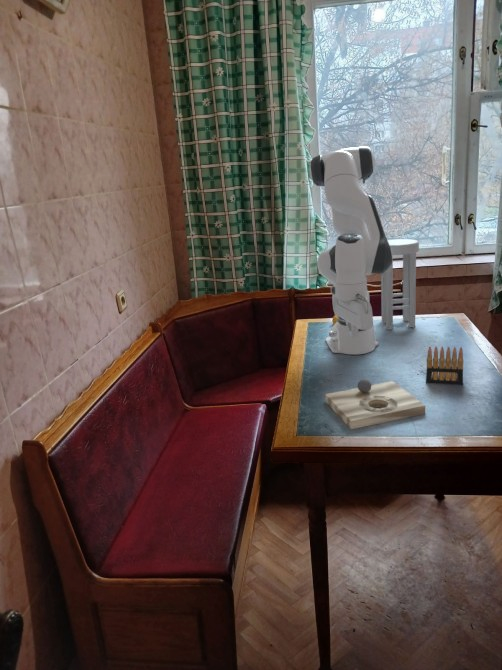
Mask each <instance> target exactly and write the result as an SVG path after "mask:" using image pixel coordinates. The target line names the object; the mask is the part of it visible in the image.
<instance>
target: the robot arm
mask: <svg viewBox="0 0 502 670" xmlns="http://www.w3.org/2000/svg"><path fill="white" fill-rule="evenodd" d="M375 167H376V158H375V155H374V152H373V151H372V148H370V147H369V146H366V145H361V146H360V145H359V146H358V147H347V148H340V149H339V150H334V151H330V152H327V153H325V154H319V155H318V154H317V155H316V156H314V157H312V159H311V161H310V165H309V176H310V179H311V180H312V182H313V184H314V185H315V186H317V187H324V188H323V189H324V194H325V195H324V196H325V199H326V202H327V204H328V205H329V206H330V208H331V215H332V223H333V230H334V231H335V233H336V234H337V235H339V236H338V237H337V238H336V241H335V245H333V246H332V247H331V248H328V249H325V250H322V251H321V252H320V253H319V255H318V257H317V260H316V266H317V270H318V272H319V274H320V275H321V276H322V277H323V278H325V279H327V280H328V281H329V282H330V284H332V286H330V293H331V294H332V297H331V300H332V309H333V312H334V316H335V315H337V316H338V320H337V321H338V322H337V323H336V324H335V325H332V326H331V329H330V330H329V331H328V337H326V338H325V342H326V344H327V346H328V347H329V349H330V351H331V353H335V354H343V355H344V354H345V355H364V354H368V353H371V352H373V351H374V350H375V348H376V347H378V346H379V341H377V340H376V333H375V325H374V318H373V317H374V316H373V308H372V305H371V303H370V292H369V290H368V279H367V276H369V275H374V274H380V275H381V274H382V273H384V272H385V271H386V270H387V269H388V268H389V267H390V266H391V265H392V259H393V258H394V255H393V256H392V250H391V248H390V245H389V243H388V240H389V239H388V238H387V236H386V233H385V231H384V226H383V224H382V221H381V218H380V215H379V212H378V208H377V205H376V203H375V201H374V198H373V197H372V195H370V194H368V193H366V192H365V191H364V190H363V188H362V186H361V184H360V180H362V184H366V180H368V179H370V177H371V176H372V175H373V173H374V170H375ZM393 260H394V259H393Z"/></svg>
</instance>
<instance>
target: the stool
mask: <svg viewBox="0 0 502 670" xmlns="http://www.w3.org/2000/svg"><path fill="white" fill-rule="evenodd" d="M387 240H388V243H389V245H390V248H391V250H392V256H393V257H394V256H402V292H397V293H395V292H394V293H393V291H394V287H393V286H394V285H393V284H394V277H393V275H394V274H393V273H394V269H393V266H394V262H393V260H394V259H392V265H391V266H390V267H389V268H388V269H387V270H386V271H385V272H384V273H382V274H380V278H381V279H380V288H381V289H380V291H381V298H380V299H381V304H380V305H381V307H380V308H381V310H380V311H381V323H382V324H385V325H386V327H385V328H386V330H393V329H394V320H393V319H394V310H397V311H398V310H402V321H404V322H408V324H407V325H408V327H409V328H410V327H413V328H416V307H417V305H416V298H417V297H416V292H417V291H416V290H417V288H416V287H417V286H416V284H417V253H418V252H419V251H420V242H419V241H418V240H416V239H410V238H397V239H387ZM395 297H402V298H395ZM395 304H402V305H395ZM394 305H395V306H394Z"/></svg>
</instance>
